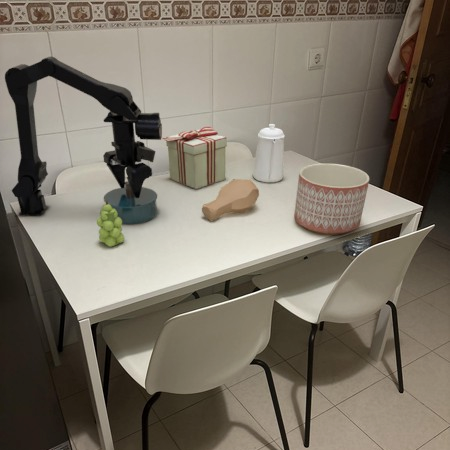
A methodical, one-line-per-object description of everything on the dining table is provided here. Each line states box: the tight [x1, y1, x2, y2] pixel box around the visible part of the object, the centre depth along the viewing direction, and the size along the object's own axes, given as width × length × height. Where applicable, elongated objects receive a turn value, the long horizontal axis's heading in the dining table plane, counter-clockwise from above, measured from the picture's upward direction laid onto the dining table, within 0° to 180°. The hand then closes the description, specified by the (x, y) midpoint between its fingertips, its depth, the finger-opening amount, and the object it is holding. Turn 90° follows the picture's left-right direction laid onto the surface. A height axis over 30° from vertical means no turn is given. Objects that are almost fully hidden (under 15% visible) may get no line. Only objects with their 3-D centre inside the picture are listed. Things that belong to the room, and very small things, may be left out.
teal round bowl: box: [112, 200, 158, 225], centre depth 134 cm, size 15×15×5 cm
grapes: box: [96, 200, 125, 247], centre depth 117 cm, size 7×7×12 cm
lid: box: [103, 180, 158, 209], centre depth 132 cm, size 16×16×5 cm
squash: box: [201, 178, 260, 221], centre depth 136 cm, size 11×20×9 cm, turn 135°
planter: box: [293, 162, 370, 236], centre depth 129 cm, size 19×19×15 cm
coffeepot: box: [252, 123, 286, 183], centre depth 157 cm, size 11×25×19 cm, turn 179°
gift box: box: [161, 126, 228, 190], centre depth 156 cm, size 17×18×17 cm
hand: (130, 192), depth 132 cm, fingers open, 9 cm apart
